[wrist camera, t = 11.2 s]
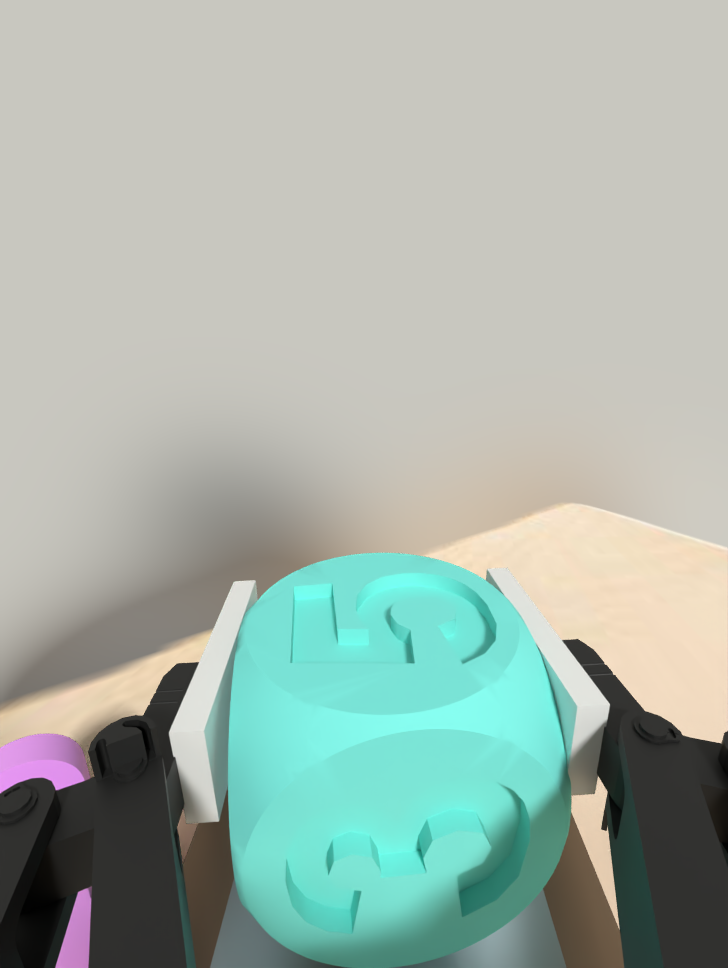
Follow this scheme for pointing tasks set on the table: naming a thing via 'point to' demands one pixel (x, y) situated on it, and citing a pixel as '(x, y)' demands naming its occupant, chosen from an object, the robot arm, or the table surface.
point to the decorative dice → (391, 761)
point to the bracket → (64, 769)
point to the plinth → (486, 964)
